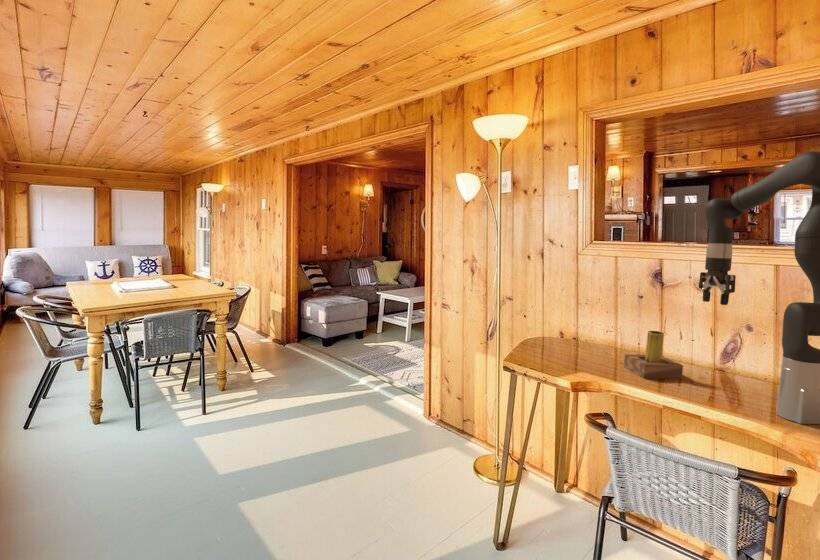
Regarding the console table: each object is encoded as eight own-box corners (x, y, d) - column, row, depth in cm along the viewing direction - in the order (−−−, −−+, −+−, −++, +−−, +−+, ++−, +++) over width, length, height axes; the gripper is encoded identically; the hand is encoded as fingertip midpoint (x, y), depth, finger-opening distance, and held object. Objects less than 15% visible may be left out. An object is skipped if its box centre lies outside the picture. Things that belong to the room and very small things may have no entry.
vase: (664, 373, 170) (667, 334, 169) (645, 371, 172) (649, 333, 170) (658, 368, 176) (662, 331, 175) (641, 367, 178) (644, 329, 176)
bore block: (681, 379, 168) (683, 365, 167) (643, 378, 167) (644, 364, 167) (659, 367, 182) (660, 354, 181) (623, 366, 181) (624, 354, 180)
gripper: (745, 258, 156) (740, 306, 158) (714, 256, 170) (710, 300, 172) (723, 257, 156) (719, 305, 157) (694, 255, 170) (690, 300, 171)
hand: (714, 303), depth 164 cm, fingers open, 8 cm apart
